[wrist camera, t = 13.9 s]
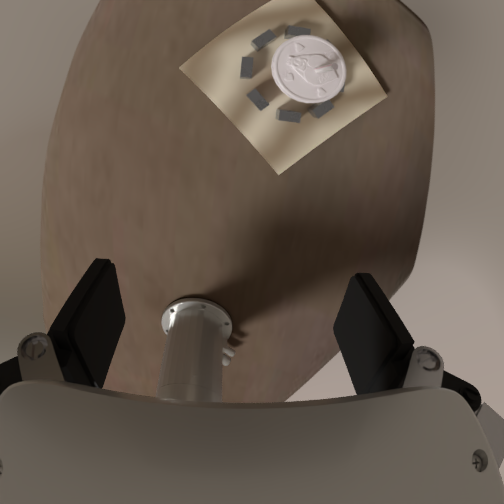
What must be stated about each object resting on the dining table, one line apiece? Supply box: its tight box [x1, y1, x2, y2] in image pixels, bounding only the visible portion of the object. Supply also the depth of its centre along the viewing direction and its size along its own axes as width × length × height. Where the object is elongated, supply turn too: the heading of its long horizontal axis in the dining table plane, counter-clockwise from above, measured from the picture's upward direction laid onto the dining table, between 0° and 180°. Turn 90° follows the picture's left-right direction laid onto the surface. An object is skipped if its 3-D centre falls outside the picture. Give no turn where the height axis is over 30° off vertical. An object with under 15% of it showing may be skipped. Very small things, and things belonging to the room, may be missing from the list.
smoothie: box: [271, 35, 346, 103], centre depth 21 cm, size 6×6×14 cm
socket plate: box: [179, 0, 387, 175], centre depth 27 cm, size 18×18×2 cm
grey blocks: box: [240, 25, 345, 123], centre depth 26 cm, size 11×11×2 cm
